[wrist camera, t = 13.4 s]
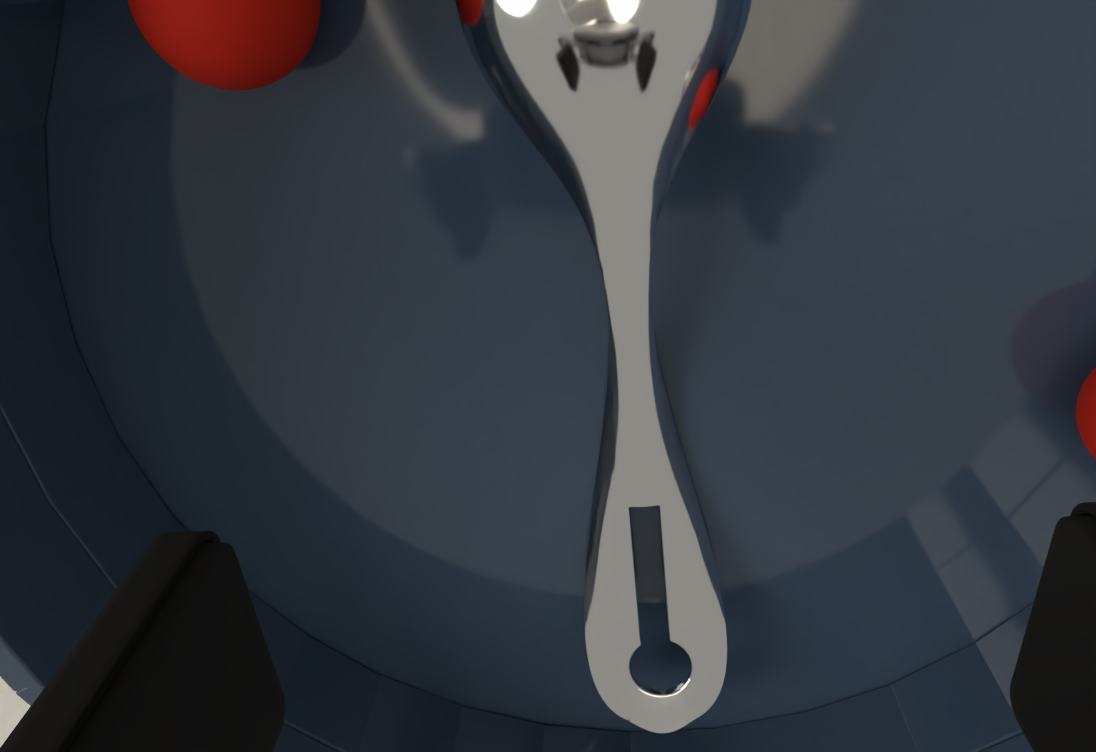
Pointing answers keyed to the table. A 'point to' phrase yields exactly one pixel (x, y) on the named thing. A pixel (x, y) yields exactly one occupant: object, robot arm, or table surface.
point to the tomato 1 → (229, 37)
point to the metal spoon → (625, 289)
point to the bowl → (555, 368)
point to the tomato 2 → (1087, 413)
